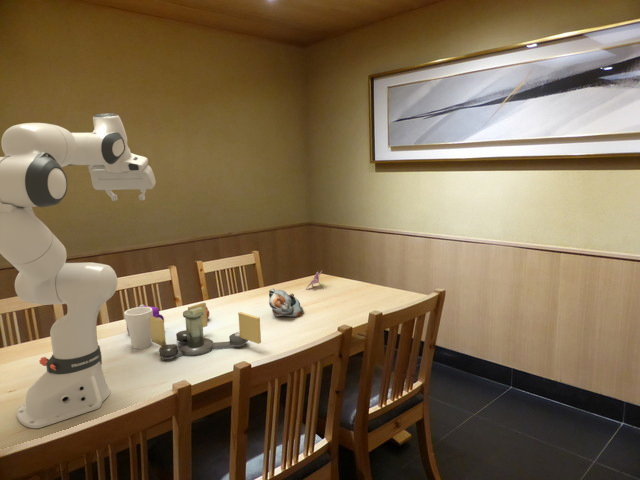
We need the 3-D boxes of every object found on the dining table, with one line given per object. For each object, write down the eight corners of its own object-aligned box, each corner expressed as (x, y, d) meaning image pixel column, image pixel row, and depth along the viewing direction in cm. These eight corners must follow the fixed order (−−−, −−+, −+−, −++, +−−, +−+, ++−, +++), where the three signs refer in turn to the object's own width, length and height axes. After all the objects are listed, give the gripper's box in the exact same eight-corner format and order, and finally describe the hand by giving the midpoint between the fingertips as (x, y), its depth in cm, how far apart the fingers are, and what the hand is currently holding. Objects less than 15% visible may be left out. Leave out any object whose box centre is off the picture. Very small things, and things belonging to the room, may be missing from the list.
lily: (323, 286, 239) (313, 270, 239) (335, 281, 230) (326, 265, 229) (307, 297, 232) (297, 281, 232) (319, 293, 223) (309, 277, 222)
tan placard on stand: (252, 352, 153) (251, 320, 151) (225, 342, 162) (223, 312, 160) (266, 345, 158) (265, 315, 156) (239, 336, 167) (238, 307, 165)
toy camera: (156, 338, 171) (153, 313, 170) (123, 337, 174) (120, 311, 172) (171, 328, 182) (168, 304, 180) (140, 326, 184) (137, 302, 183)
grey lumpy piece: (308, 315, 191) (299, 292, 183) (283, 330, 188) (273, 307, 180) (293, 297, 203) (283, 274, 195) (269, 311, 200) (259, 288, 192)
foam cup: (126, 352, 160) (122, 316, 158) (129, 342, 169) (125, 308, 166) (154, 348, 162) (151, 313, 160) (156, 338, 171) (153, 305, 169)
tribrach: (184, 372, 143) (180, 326, 141) (145, 353, 158) (141, 312, 156) (247, 345, 163) (245, 304, 160) (208, 330, 178) (205, 293, 175)
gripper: (82, 166, 147) (94, 204, 154) (146, 165, 147) (155, 203, 154) (90, 159, 152) (102, 196, 160) (152, 157, 152) (160, 195, 160)
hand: (128, 199), depth 157 cm, fingers open, 8 cm apart
